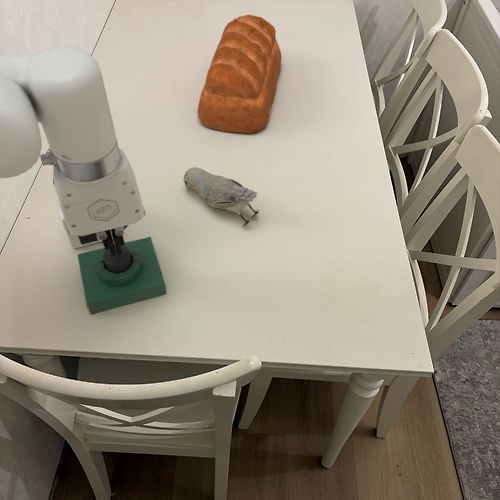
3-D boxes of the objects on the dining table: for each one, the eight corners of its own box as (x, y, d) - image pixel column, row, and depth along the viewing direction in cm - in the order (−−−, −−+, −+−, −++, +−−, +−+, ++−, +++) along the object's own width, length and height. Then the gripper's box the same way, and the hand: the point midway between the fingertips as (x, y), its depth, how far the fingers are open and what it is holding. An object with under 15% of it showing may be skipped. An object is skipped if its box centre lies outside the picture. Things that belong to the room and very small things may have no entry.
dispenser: (90, 314, 75) (83, 297, 71) (81, 264, 81) (74, 246, 77) (166, 294, 78) (163, 276, 74) (152, 247, 84) (149, 228, 80)
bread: (283, 59, 122) (289, 7, 112) (264, 138, 103) (269, 83, 92) (222, 51, 123) (222, -2, 113) (193, 128, 104) (189, 72, 93)
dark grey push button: (107, 276, 74) (105, 268, 72) (103, 256, 76) (101, 248, 75) (134, 269, 75) (132, 261, 73) (128, 250, 77) (126, 242, 76)
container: (117, 238, 84) (103, 184, 74) (72, 250, 82) (51, 196, 72) (108, 207, 89) (93, 152, 79) (65, 218, 87) (44, 163, 77)
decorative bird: (195, 178, 94) (193, 148, 88) (263, 216, 89) (266, 187, 83) (177, 194, 92) (174, 164, 86) (246, 234, 86) (248, 205, 80)
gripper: (24, 189, 54) (67, 280, 69) (155, 162, 58) (170, 254, 72) (20, 147, 59) (61, 241, 73) (142, 124, 62) (158, 218, 77)
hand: (115, 247), depth 73 cm, fingers closed
